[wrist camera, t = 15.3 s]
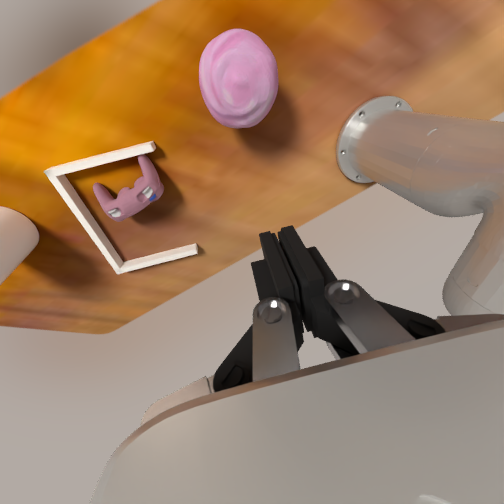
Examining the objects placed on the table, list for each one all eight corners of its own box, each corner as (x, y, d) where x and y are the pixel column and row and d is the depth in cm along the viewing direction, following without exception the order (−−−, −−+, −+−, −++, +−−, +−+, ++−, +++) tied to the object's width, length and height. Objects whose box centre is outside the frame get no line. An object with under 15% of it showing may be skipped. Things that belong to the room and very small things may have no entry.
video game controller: (115, 199, 40) (118, 232, 36) (89, 183, 36) (90, 217, 32) (164, 168, 38) (171, 199, 35) (142, 147, 34) (148, 180, 31)
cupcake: (191, 49, 29) (184, 34, 21) (260, 32, 29) (280, 11, 21) (212, 128, 34) (213, 141, 26) (271, 114, 34) (290, 122, 26)
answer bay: (153, 140, 34) (150, 143, 32) (197, 247, 45) (197, 253, 43) (51, 167, 34) (43, 171, 32) (120, 267, 45) (117, 274, 43)
